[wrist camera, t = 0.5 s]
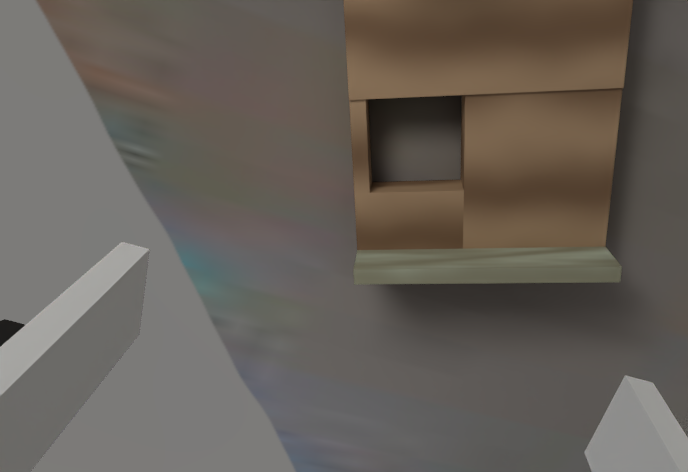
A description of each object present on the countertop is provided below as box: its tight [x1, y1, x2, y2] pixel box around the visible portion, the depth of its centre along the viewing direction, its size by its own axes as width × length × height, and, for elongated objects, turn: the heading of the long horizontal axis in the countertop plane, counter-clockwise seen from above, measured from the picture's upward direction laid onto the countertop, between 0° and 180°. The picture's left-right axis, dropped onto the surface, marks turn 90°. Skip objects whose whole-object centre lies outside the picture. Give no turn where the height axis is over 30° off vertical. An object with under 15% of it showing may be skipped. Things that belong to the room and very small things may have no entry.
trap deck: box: [344, 0, 633, 284], centre depth 34 cm, size 26×16×6 cm, turn 3°
